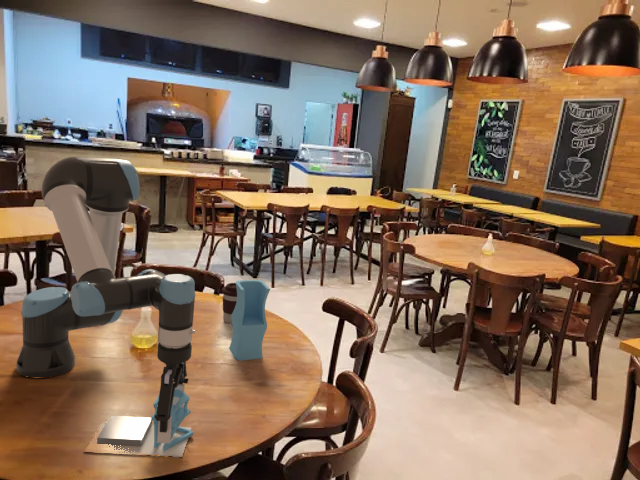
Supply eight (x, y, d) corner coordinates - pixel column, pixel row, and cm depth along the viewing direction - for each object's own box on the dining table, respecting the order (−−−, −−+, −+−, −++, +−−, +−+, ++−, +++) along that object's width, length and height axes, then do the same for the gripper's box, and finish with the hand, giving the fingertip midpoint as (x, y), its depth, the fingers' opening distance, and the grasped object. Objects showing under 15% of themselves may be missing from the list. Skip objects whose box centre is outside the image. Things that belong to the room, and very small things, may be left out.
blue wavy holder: (235, 360, 157) (241, 289, 152) (229, 348, 166) (234, 280, 161) (264, 358, 161) (270, 288, 156) (256, 345, 170) (261, 279, 165)
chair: (145, 444, 111) (146, 398, 109) (167, 425, 119) (169, 382, 116) (172, 454, 109) (174, 408, 106) (193, 434, 117) (195, 390, 114)
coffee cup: (249, 321, 192) (252, 285, 189) (233, 327, 184) (235, 291, 180) (231, 314, 197) (234, 279, 194) (214, 320, 189) (217, 284, 185)
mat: (83, 452, 107) (83, 451, 107) (102, 423, 117) (102, 422, 117) (182, 457, 109) (182, 456, 109) (191, 428, 119) (191, 427, 119)
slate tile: (111, 421, 118) (97, 444, 109) (111, 415, 118) (97, 437, 109) (152, 423, 119) (141, 446, 110) (152, 417, 119) (141, 440, 110)
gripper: (179, 368, 96) (174, 459, 101) (201, 322, 121) (196, 397, 125) (142, 366, 96) (139, 457, 100) (171, 320, 120) (168, 395, 124)
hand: (171, 424), depth 113 cm, fingers open, 13 cm apart
